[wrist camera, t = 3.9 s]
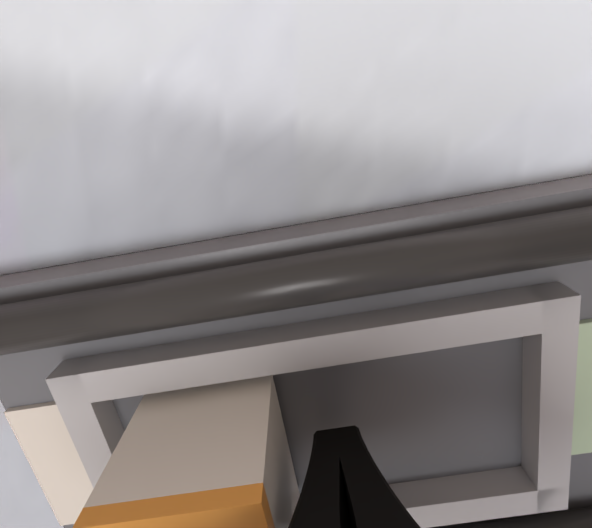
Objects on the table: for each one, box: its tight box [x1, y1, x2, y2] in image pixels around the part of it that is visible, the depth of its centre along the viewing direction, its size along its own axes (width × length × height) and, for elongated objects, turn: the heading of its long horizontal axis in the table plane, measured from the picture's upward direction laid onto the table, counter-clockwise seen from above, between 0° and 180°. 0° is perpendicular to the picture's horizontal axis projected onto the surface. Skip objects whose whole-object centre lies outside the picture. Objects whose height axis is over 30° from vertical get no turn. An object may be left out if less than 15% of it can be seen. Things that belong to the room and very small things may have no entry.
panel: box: [0, 174, 592, 528], centre depth 14 cm, size 20×13×3 cm, turn 100°
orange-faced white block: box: [73, 375, 300, 528], centre depth 11 cm, size 4×5×4 cm
